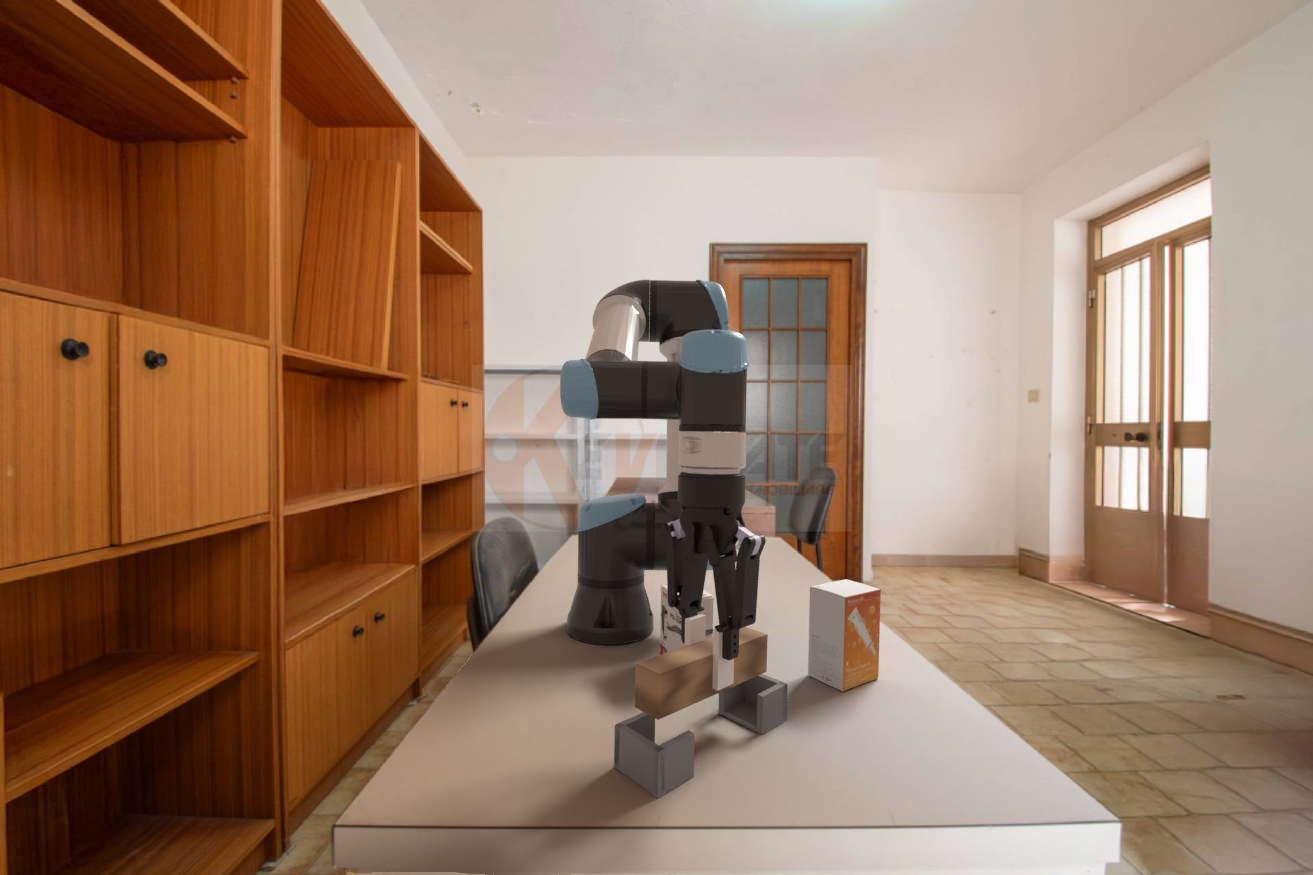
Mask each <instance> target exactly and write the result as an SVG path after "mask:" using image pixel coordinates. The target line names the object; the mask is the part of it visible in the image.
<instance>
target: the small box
mask: <svg viewBox="0 0 1313 875" xmlns="http://www.w3.org/2000/svg"><path fill="white" fill-rule="evenodd" d="M881 590H882V589H881V588H879V587H875V586H871V585H868V584H865V583H861V582H859V581H854V580H851V579H847V578H846V579H845V578H844V579H841V580H835V581H828V582H824V583H822V584H821V583H820V584H816V585H811V586H810V587H809V609H808V610H809V611H808V612H809V615H808V616H809V618H808V622H809V624H808V653H807V655H808V660H807V661H808V663H807V664H808V665H807V675H808V676H809V677H811V678H813V679H815V680H817V681H819V682H822V683H824V684H826V685H828V686H829V687H832V688H834V689H836V690H839V691H841V692H846V691H847V690H849V689H852V688H855V687H858V686H860V685H863V684H867V683H869V682H871V681H876V680H878V679H879V664H880V663H879V662H880V635H881V634H880V633H881V632H880V631H881V630H880V628H881V627H880V626H881V623H880V622H881V593H882V592H881Z"/></svg>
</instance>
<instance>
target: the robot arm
mask: <svg viewBox="0 0 1313 875" xmlns="http://www.w3.org/2000/svg"><path fill="white" fill-rule="evenodd" d="M729 319H730V316H729V305H728V301H727V297H726V292H725V290H724V288H723V287H722V285H721V284H719V283H718V282H716V281H706V280H701V279H696V280H668V279H667V280H666V279H665V280H663V279H662V280H660V279H658V280H657V279H655V280H654V279H653V280H652V279H651V280H650V279H638V280H633V281H630V282H626V283H623V284H622V285H619V286H617V287H615V288H614V289H612V290H610V291H609V292H607V293H606V294H604V296H602V297H601V299H600V300H599V302H598V303H597V304H596V306H595V309H594V311H593V315H592V327H593V329H594V330H593V333H592V335H591V336H592V337H591V340H590V343H589V347H588V349H587V352H586V355H585V358H579V359H572V360H571V359H570V360H566V361H565V362H564V363H563V364H562V366H561V367H562V368H561V371H560V381H559V394H560V395H559V396H560V404H561V408H562V411H563V413H564V414H565V415H566V416H567V417H569V418H579V419H580V418H581V419H589V420H591V421H592V420H599V419H600V420H601V419H603V420H604V419H605V420H607V419H608V420H609V419H610V420H612V419H613V420H615V419H617V420H623V419H624V420H625V419H626V420H628V419H629V420H630V419H631V420H641V419H642V420H666V478H665V479H666V481H665V482H666V483H665V484H664V486H663V487H662V488H661V489H660V490H659V491H658V492H657V502H647V498H646V495H644V494H642V493H633V494H632V493H625V494H624V493H623V494H617V495H616V494H615V495H610V496H609V495H608V496H602V497H598V498H594V499H591V500H588V501H586V502H584V503H583V504H582V505H581V506H580V509H579V512H578V513H579V514H578V526H577V529H576V532H578V534H577V538H578V539H577V540H578V541H577V543H578V544H577V546H578V547H577V548H578V549H577V551H578V552H577V587H576V588H575V593H574V596H573V598H572V602H571V606H570V610H569V612H568V613H567V617H566V619H567V620H566V631H567V634H568V635H569V636H571V637H572V638H573V639H575V640H578V641H581V642H584V643H589V644H595V645H597V644H598V645H622V644H628V643H633V642H637V641H640V640H644V639H645V638H647V637H649V636H650V635H651V634H652V633H653V631H654V625H655V624H654V622H655V620H654V619H655V618H654V613H653V611H652V609H651V604H650V600H649V596H648V594H647V589H646V587H645V571H666V579H667V581H666V582H667V583H666V584H667V589H668V604H669V606H670V607H675V608H676V609H677V610H679V614H680V615H681V617H682V620H681V629H682V630H681V632H682V633H681V639H682V643H685V646H688V645H691V644H694V643H697V642H700V641H703V640H705V636H706V615H703V614H699V615H697V613H698V612H701V611H703V610H704V609H705V608H703V607H702V606H701V602H702V596H703V590H705V589H704V587H705V583H706V582H705V581H706V575H707V571H712V574H713V581H714V582H713V584H714V591H715V599H716V600H715V601H716V607H717V617H718V625H717V624H716V625H715V626H714V627H713V683H712V689H714V690H717V691H719V690H721V689H723V688H725V687H727V686H729V685H731V684H734V658H736V657H738V654H739V630H740V628H743V627H748V626H749V627H750V625H754V624H755V623H756V621H757V618H756V617H757V606H758V605H757V604H758V593H759V592H758V591H759V589H758V588H759V577H760V576H759V573H760V558H761V555H762V552H763V549H764V548H765V545H766V542H767V540H766V537H765V536H764V534H755V533H753V532H751V531H750V530H749V529H748V528H746V523H745V520H744V518H743V514H742V512H743V511H742V510H743V508H744V506H745V503H746V476H744V473H743V472H741V469H745V468H746V467H747V433H746V430H747V429H746V428H747V426H746V425H747V424H746V423H747V422H746V421H747V420H746V419H747V384H748V367H749V366H750V365H749V360H748V349H747V346H748V345H747V340H746V337H745V335H744V334H741V333H740V332H738V331H734V330H730V323H729ZM642 342H643V343H645V342H649V343H659V344H658V349H659V353H661V355H662V356H663V357H665V359H666V360H667V361H666V360H665V361H661V360H660V361H657V360H656V361H654V360H653V361H651V360H650V361H649V360H639V348H640V347H639V346H640V345H639V344H640V343H642ZM737 550H738V551H737ZM678 593H679V595H678Z"/></svg>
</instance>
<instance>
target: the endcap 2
mask: <svg viewBox="0 0 1313 875" xmlns="http://www.w3.org/2000/svg"><path fill="white" fill-rule="evenodd" d="M718 714H720V715H722V716H723V717H726V718H728V719H729V720H732V721H734V722H736V723H738V724H740V725H742V726H744V727H746V728H748V729H750V730H752V731H753V732H756V733H758V734H759V735H762V736H763V735H764V734H766V733H767V732H770V731H771V730H772V729H774V728H776V727H777V726H779V725H781V724H782V723H784V722H786V721H788V683H787V682H784V681H781V680H780V679H779V680H778V679H776V678H773V677H771V676H769V675H766V674H765V673H763V674H760V675H758V676H756V677H754V678H751V679H749V680H747V681H745V682H742V683H740V684H738V685H736V686H733V687H731V688H729V689H727V690H724V691H722V692H720V693H718Z"/></svg>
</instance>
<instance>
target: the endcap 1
mask: <svg viewBox="0 0 1313 875" xmlns="http://www.w3.org/2000/svg"><path fill="white" fill-rule="evenodd" d="M655 742H656V718H654V717H652V716H650V715H648V714H647V713H645V712H643V711H641V712H640V713H637V714H636V715H634V716H631V717H629V718H626V719H624V720H622V721H620V722H618V723H616V724H614V745H613V746H614V748H613V749H614V750H613V751H614V752H613V753H614V754H613V755H614V756H613V757H614V758H613V767H614V768H615V769H616V770H618V771H619V772H620V773H622V774H623V775H625V777H627V778H629V779H630V780H632V781H633V782H635V783H636V784H637V785H639V786H640V787H641V788H643V789H644V790H646V791H647V792H648V793H650V794H651V795H652V796H654V797H656V798H657V799H659V798H661V797H662V796H664V795H666V794H668V793H669V792H671V791H672V790H674V789H675V788H677V787H679V786H680V785H682V784H683V783H686V782H687V781H688V780H690V779H692V778H694V777H695V732H693V731H691V730H690V729H688V730H685V731H684V732H682V733H680V734H678V735H676V736H674V737H672V738H670V739H669V740H667V741H665V742H663V743H661V744H657V743H655Z"/></svg>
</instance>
